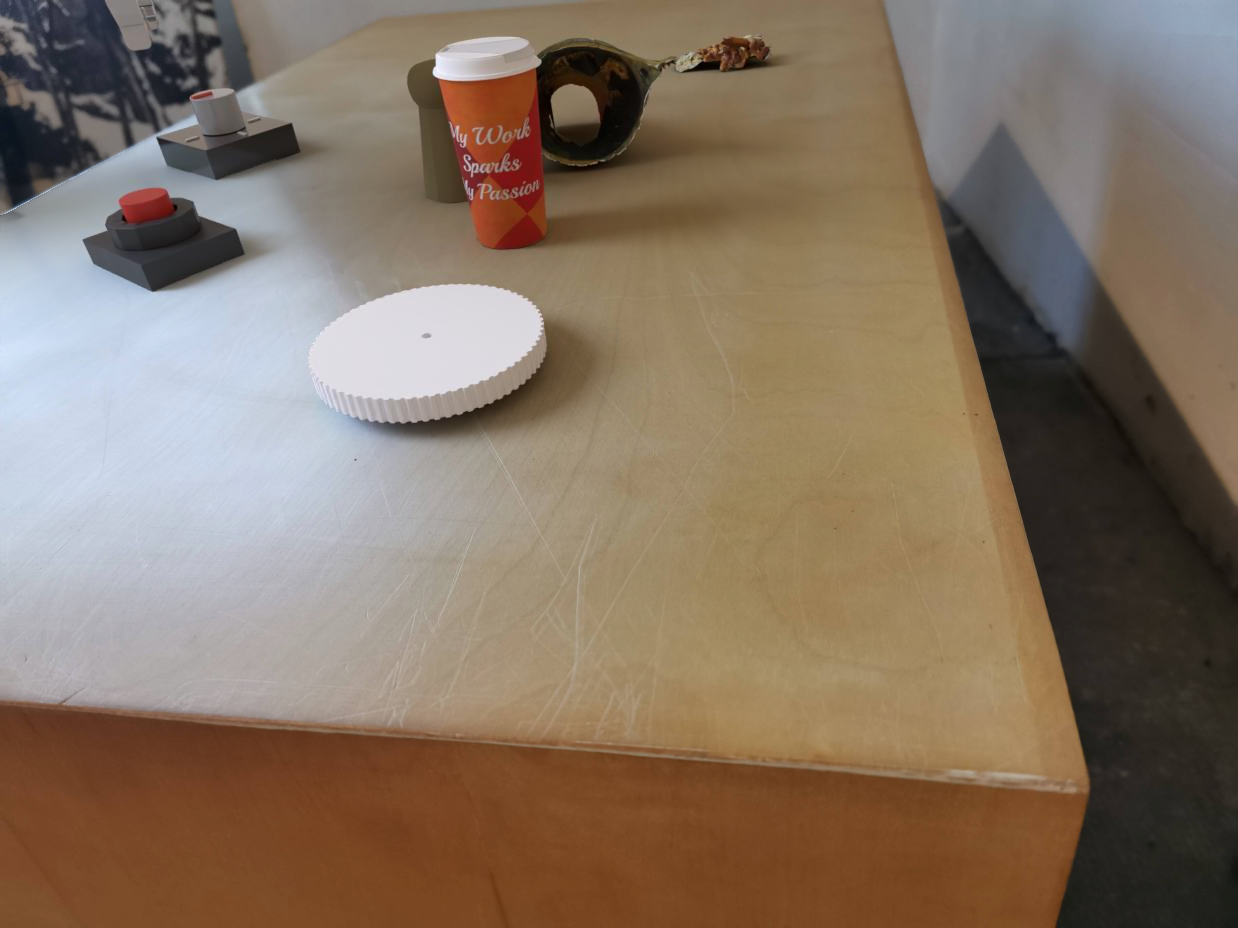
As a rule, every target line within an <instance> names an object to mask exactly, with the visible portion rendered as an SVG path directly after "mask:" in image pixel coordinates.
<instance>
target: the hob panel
mask: <svg viewBox="0 0 1238 928" xmlns="http://www.w3.org/2000/svg"><path fill="white" fill-rule="evenodd" d="M241 112H242V115H243V119H244V122H245V127H244V128H242V129H241V130H238V131H236V132H232V133H228V134H223V135H204V134H202V132H201V129H200V126H199V124H194V125H190V126H188V127H187V126H186V127H183V128H180V129H176V130H174V131H170V132H167V133H163V134H160V135H157V136H155V139H156V141H157V143H158V146H159V148H160V151H161V154H162V156H163V159H164V162H165V164H166V166H168V167H171V168H174V169H177V170H181V171H184V172H188V173H191V174H194V175H198V176H201V177H205V178H208V179H211V180H214V181H218V180H220V179H224V178H226V177H229V176H232V175H235V174H238V173H240V172H243V171H246V170H249V169H253V168H256V167H258V166H261V165H264V164H267V163H270V162H273V161H276V160H279V159H282V158H285V157H288V156H291V155H294V154H296V153H301V149H300V145H299V142H298V139H297V134H296V131H295V128H294V126H293V122H291V121H286V120H281V119H276V118H272V117H268V116H263V115H258V114H254V113H249V112H245V111H241Z"/></svg>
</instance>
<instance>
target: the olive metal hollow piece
mask: <svg viewBox="0 0 1238 928" xmlns="http://www.w3.org/2000/svg"><path fill="white" fill-rule="evenodd" d="M536 56H537V57H538V59H540V60H541V64H540V65H539V66H538V67H536V78H537V92H538V107H539V121H540V135H541V149H542V155H544V156H545V157H546V158H547V159H548V160H550V161H552V160H553V162H560V164H564V165H568V166H577V167H584V166H585V167H587V166H588V165H589V166H592V165H596V164H598V162H606V161H611V159H613V158H614V157H615V156H619V155H621V154H622V153H623V152H624V151H625V150H627V146H629V145H630V144H631V142H632V141H633V140H634V139H635V136H636V132H637V131H638V130H640V129H641V128H640V126H642V123H641V122H642V120H643V116H644V113H646V112H645V109H646V107H647V106H648V102H649V98H650V91H651V90H652V86H653V84H654V83H655V82H656V81H657V80H658V79H659V78H660V77H662V72H663V70H666V69H667V67H669V68H671V65H674V66H675V65H676V61H677V58H679V57H678V56H674V55H673V56H672V55H670V56H668V57H666V58H664V59H661V60H660V59H659V60H656V59H646V58H643V57H640V56H637V55H635V54H633V53H630V52H628V51H626V50H624V49H623V50H622V49H620V48H618V47H616V46H615V45H614V44H610V43H609V42H606V41H603V40H601V39H600V40H599V39H595V38H594V39H592V38H589V37H574V38H573V37H572V38H567V39H563V40H559V41H558V42H555V43H553V44H550V45H549V46H547V47H545V48H543V49H542V50H541V51H539V53H537V54H536ZM666 66H667V67H666ZM568 85H574V86H578V87H583V88H586V89H587V90H588V91H589V92H590V93H591V95H592V96H593V98H594V99H595V102H596V106H597V112H598V115H599V122H600V125H599V127H598V132H597V134H596V138H593V139H592V140H591V139H590V141H587V142H585V143H583V144H581V145H580V144H578V143H577V142H575V141H573V140H571V139H569V138H567V137H565V136H563V135H561V134H559V133H557V130H556V125H555V117H554V111H553V104H552V97H553V95H554V94H555V92H557V91H558V90H559V89H560V88H562V87H564V86H568Z"/></svg>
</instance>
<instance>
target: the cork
mask: <svg viewBox="0 0 1238 928" xmlns="http://www.w3.org/2000/svg"><path fill="white" fill-rule="evenodd" d="M435 66H436V58H432V59H427V60H424V61H420V62H419V63H416V64H414V65H413V66H412V67H410V69H409V70H408V72H407V76H406V86H407V91H408V92H409V94H410V97H411V99H412V101H413V102H414V103H415V104H416V105H417V106H418V118H419V131H420V143H421V145H420V146H421V157H422V169H423V171H422V172H423V182H424V183H423V184H424V193H425V194H424V195H425V197H426V199H428V200H429V201H433V202H436V203H437V202H438V203H445V204H449V203H460V202H465V201H467V202H468V199H467V195H466V191H465V186H464V182H463V178H462V174H461V170H460V166H459V162H458V158H457V154H456V149H455V145H454V141H453V137H452V133H451V129H450V125H449V121H448V117H447V113H446V108H445V104H444V100H443V95H442V91H441V87H440V83H439V79H438V78H437V77H435V76H434V75H433V69H434V67H435Z"/></svg>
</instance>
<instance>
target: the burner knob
mask: <svg viewBox="0 0 1238 928" xmlns="http://www.w3.org/2000/svg"><path fill="white" fill-rule="evenodd" d="M189 101H190V104H191V107H192V110H193V113H194V115H195V117H196V121H197V123H198V124H199V126H200V129H201V132H202V134H204V135H223V134H228V133H232V132H236V131H238V130H241V129H242V128H244V127H245V122H244V119H243V115H242V112H243V111H242V110H241V109H242V108H241V107H240V103H239V100H238V98H237V94H236V91H235V89H233V88H228V87H226V88H224V87H222V88H213V89H207V90H202V91H199V92H196V93H193V94H191V95H190V96H189Z"/></svg>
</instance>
